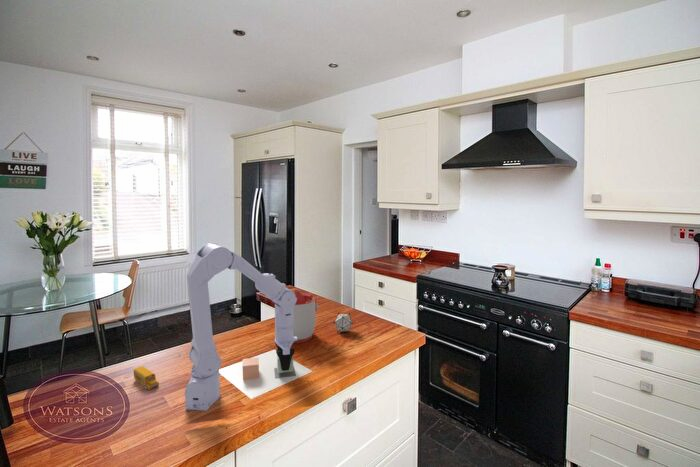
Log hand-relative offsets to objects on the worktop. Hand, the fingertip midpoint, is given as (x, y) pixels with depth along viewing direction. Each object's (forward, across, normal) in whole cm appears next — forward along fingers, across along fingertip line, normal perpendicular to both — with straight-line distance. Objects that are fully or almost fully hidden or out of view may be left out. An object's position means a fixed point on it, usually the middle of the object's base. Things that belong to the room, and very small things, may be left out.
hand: (284, 366), depth 112 cm
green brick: (+1, 0, 0) cm, 1 cm away
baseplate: (+3, +2, +6) cm, 7 cm away
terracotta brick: (+2, +1, +10) cm, 11 cm away
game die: (+3, +30, -27) cm, 40 cm away
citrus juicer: (+3, +27, -8) cm, 28 cm away
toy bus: (+3, +5, +41) cm, 42 cm away
